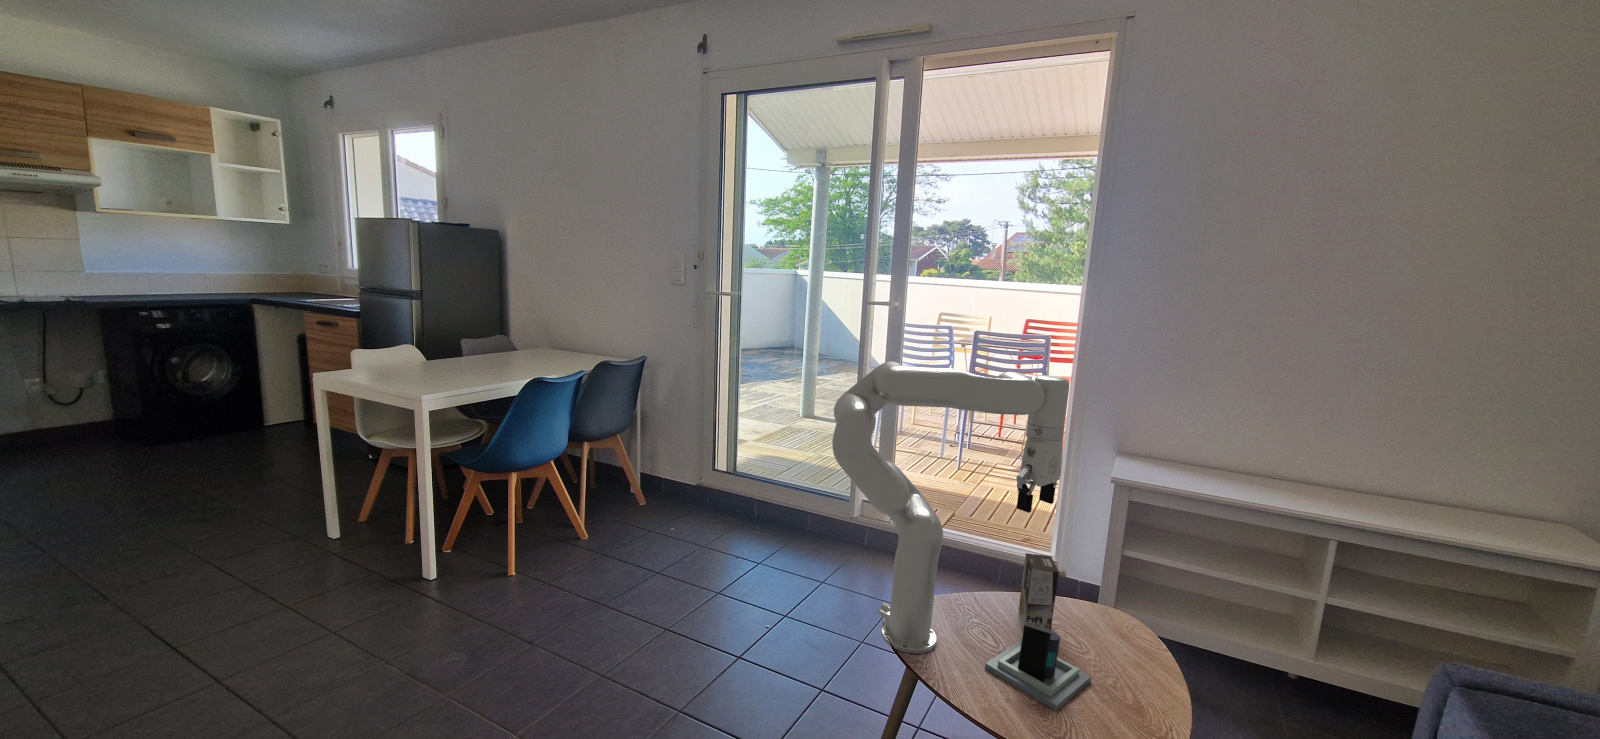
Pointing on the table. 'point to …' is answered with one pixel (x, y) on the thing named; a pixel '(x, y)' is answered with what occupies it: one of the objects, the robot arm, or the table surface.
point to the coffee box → (1038, 591)
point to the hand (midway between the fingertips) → (1035, 506)
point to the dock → (1047, 692)
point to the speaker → (1038, 652)
